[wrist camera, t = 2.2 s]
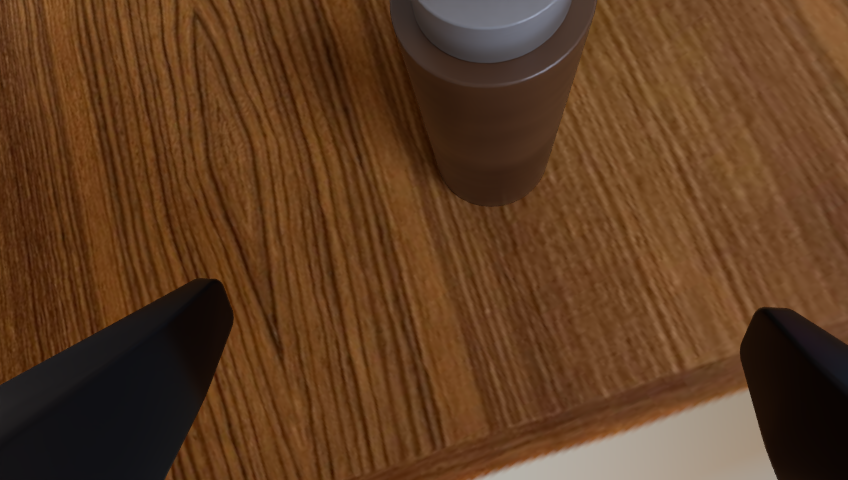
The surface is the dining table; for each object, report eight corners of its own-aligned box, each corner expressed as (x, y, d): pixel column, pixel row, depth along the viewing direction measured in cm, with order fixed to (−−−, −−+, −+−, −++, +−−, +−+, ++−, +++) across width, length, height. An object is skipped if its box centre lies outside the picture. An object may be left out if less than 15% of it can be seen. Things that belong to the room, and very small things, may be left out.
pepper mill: (571, 162, 22) (681, -81, 9) (480, 228, 22) (463, 78, 9) (502, 83, 24) (514, -232, 11) (416, 145, 24) (321, -91, 11)
